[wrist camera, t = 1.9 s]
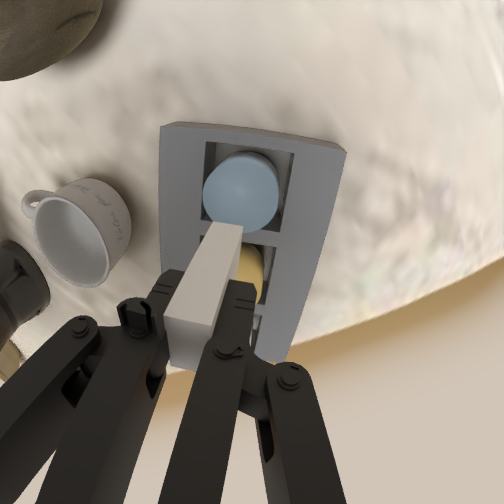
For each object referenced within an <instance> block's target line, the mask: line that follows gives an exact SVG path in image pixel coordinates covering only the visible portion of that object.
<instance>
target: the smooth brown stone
mask: <svg viewBox="0 0 504 504" xmlns="http://www.w3.org/2000/svg"><path fill="white" fill-rule="evenodd" d="M103 1H104V0H0V81H10V80H15V79H19V78H23V77H26V76H29V75H31V74H34V73H36V72H38V71H40V70H43V69H45V68H47V67H49V66H50V65H52V64H54V63H56V62H58V61H59V60H61V59H62V58H64V57H65V56H67V55H68V54H69V53H71V52H72V51H73V50H74V49H75V48H76V47H77V46H78V45H79V44H80V43H81V42H82V41H83V40H84V39H85V38H86V37H87V35H88V34H89V33H90V31H91V30H92V28H93V27H94V25H95V24H96V22H97V20H98V18H99V15H100V12H101V9H102V5H103Z"/></svg>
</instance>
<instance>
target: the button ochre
mask: <svg viewBox="0 0 504 504" xmlns="http://www.w3.org/2000/svg"><path fill="white" fill-rule="evenodd" d="M263 275H264V259H263V257H262V255H261V253H260V252H259V251H258V250H257V249H256V248H255V247H254V246H253V245H251V244H249V243H247V242H241V249H240V257H239V265H238V273H237V276H236V280H238V281H243V282H249V283H254V286H255V288H256V290H257V298H256V304H257V303H258V301H259V299H260V297H261V291H262V283H263ZM256 304H255V305H256Z"/></svg>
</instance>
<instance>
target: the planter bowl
mask: <svg viewBox="0 0 504 504" xmlns="http://www.w3.org/2000/svg"><path fill="white" fill-rule="evenodd" d="M19 358H20V353H19V351H18V349H17V348H16V347H15V345H14V344H13V343H12V342H11V341H10V340H8V342H7V343H6V345H5V346H4V347H3V349H2V350H1V352H0V378H1V379H2V380H3V381H4V382H6V381H7V380H8V379H9V378H10V377H11V376H12V375H13V374H14V373H15V372H16V371H17V370H18V369H19Z"/></svg>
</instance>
